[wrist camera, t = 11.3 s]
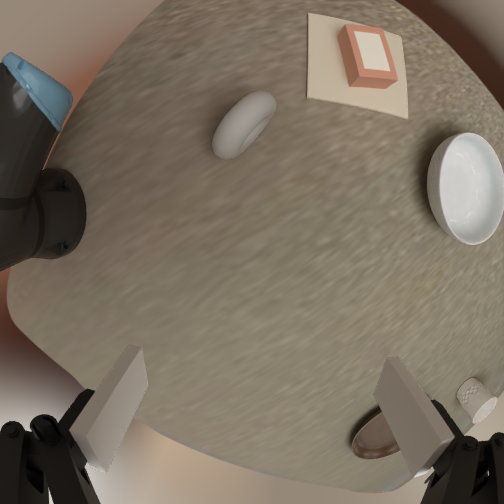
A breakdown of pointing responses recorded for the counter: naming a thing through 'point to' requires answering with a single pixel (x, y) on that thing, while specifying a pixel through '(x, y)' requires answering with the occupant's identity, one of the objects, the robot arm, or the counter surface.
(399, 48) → the mat
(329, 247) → the counter surface
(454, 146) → the cereal bowl
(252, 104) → the donut
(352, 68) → the card box
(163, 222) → the counter surface
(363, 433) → the plant saucer
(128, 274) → the counter surface
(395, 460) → the counter surface
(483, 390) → the white cup
